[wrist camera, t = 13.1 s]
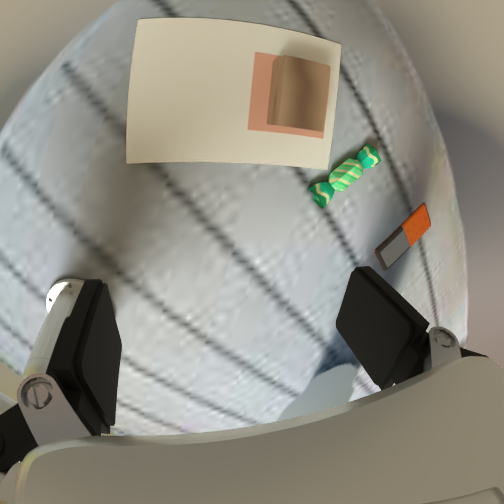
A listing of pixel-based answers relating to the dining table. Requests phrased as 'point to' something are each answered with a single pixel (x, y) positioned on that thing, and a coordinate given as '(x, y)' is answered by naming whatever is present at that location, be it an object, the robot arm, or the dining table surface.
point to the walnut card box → (298, 93)
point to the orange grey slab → (403, 237)
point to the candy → (345, 175)
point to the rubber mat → (219, 94)
